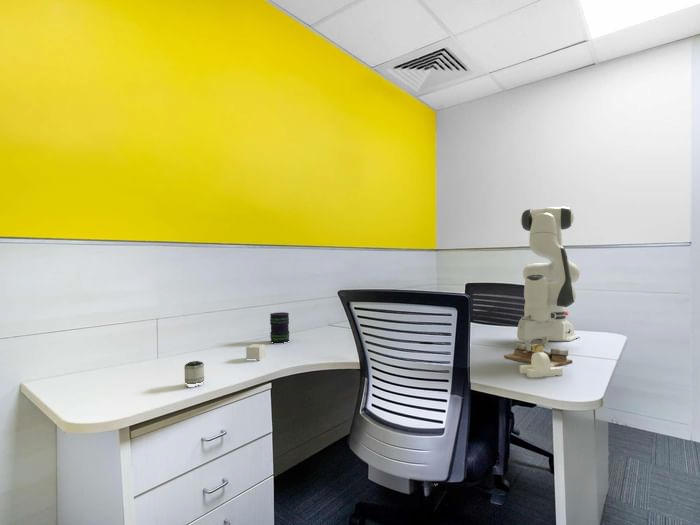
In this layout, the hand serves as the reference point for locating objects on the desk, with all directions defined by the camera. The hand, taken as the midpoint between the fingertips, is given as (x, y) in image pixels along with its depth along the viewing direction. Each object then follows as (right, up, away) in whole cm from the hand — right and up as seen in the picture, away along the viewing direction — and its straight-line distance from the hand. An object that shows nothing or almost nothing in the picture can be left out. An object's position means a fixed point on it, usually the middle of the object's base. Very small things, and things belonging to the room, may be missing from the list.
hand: (536, 348), depth 156 cm
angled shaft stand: (+7, -5, -4) cm, 9 cm away
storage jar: (-113, -7, +46) cm, 123 cm away
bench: (0, -5, 0) cm, 5 cm away
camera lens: (-130, -8, -23) cm, 133 cm away
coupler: (0, -4, 0) cm, 4 cm away
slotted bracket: (-7, -5, -18) cm, 20 cm away
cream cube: (-117, -7, +10) cm, 118 cm away
